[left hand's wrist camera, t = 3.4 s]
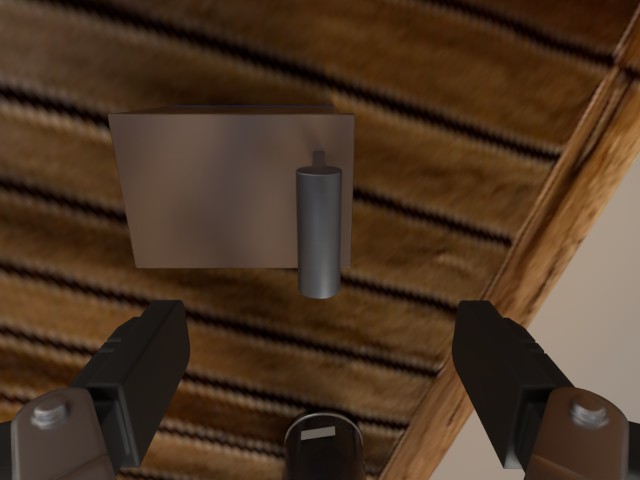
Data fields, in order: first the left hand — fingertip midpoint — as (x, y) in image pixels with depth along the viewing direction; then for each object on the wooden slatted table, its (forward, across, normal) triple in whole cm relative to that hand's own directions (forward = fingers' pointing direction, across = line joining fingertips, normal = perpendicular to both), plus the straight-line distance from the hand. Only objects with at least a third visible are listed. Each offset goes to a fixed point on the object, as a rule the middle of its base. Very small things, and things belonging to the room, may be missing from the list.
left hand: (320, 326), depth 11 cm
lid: (+16, +5, 0) cm, 16 cm away
